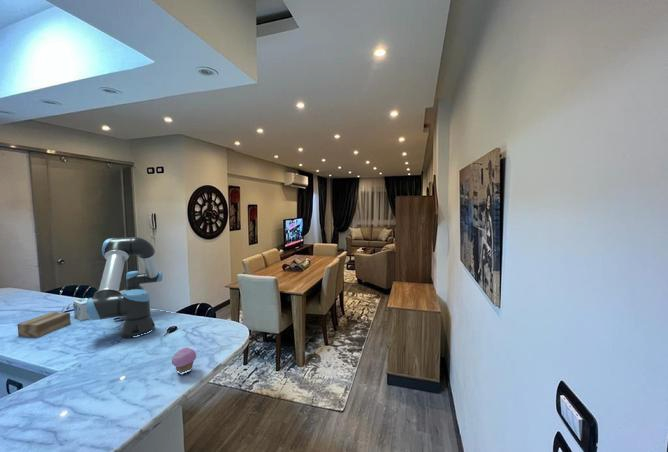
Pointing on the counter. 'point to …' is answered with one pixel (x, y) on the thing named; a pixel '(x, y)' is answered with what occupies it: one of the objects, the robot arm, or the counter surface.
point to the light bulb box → (80, 309)
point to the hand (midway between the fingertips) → (81, 307)
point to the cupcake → (184, 359)
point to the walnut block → (43, 324)
